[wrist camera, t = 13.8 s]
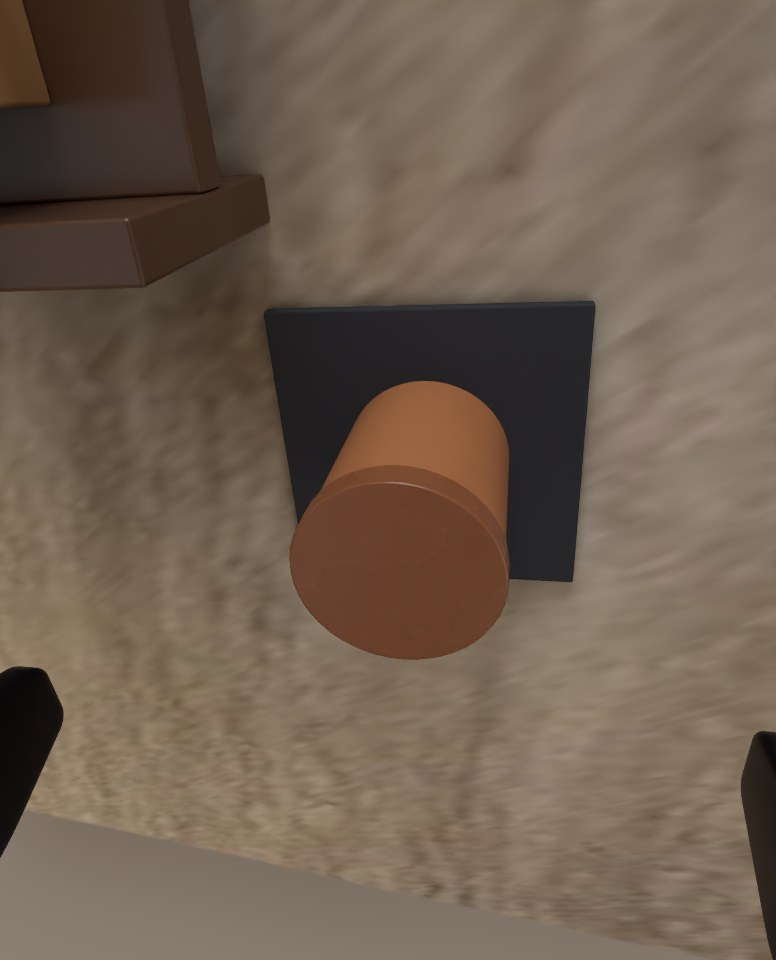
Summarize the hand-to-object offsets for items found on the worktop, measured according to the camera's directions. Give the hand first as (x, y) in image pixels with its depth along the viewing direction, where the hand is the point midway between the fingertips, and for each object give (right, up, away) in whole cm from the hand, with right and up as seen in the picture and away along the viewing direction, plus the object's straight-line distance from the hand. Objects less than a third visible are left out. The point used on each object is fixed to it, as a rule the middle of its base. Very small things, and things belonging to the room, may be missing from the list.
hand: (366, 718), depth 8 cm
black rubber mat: (+2, +4, +12) cm, 13 cm away
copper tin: (+1, +4, +12) cm, 12 cm away
